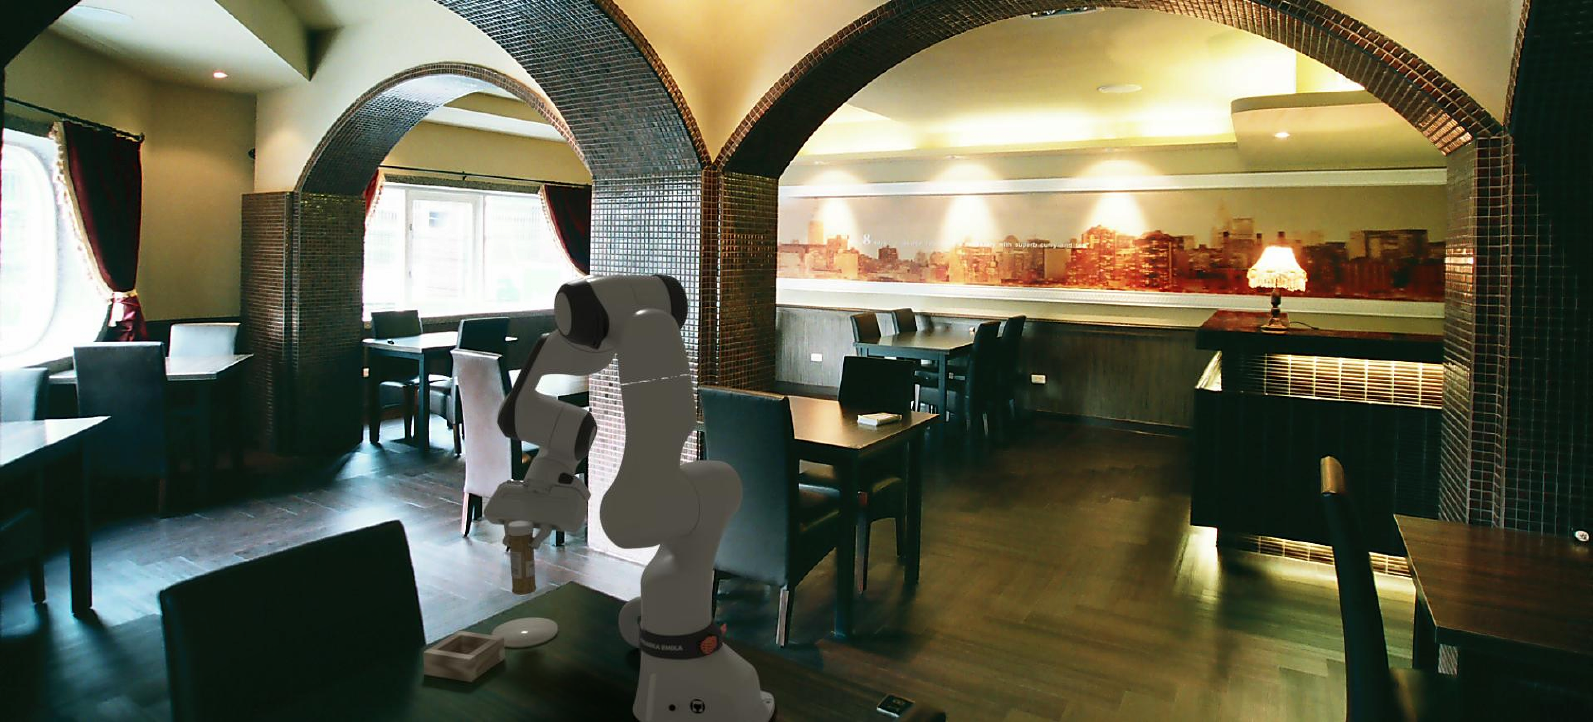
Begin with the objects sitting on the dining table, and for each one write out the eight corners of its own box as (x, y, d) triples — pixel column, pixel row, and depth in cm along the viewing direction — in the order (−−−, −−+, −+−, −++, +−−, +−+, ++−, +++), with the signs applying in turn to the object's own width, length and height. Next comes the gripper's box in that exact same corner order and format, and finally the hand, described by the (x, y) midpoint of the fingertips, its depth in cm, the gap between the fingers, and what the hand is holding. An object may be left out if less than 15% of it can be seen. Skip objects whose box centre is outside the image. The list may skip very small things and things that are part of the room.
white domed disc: (569, 625, 178) (569, 621, 178) (534, 651, 166) (534, 646, 166) (516, 618, 181) (516, 614, 181) (478, 642, 170) (478, 638, 170)
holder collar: (504, 658, 163) (503, 637, 163) (470, 682, 154) (469, 659, 154) (460, 651, 166) (459, 630, 166) (424, 674, 157) (423, 652, 157)
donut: (616, 651, 166) (614, 598, 165) (622, 643, 170) (621, 591, 169) (669, 654, 165) (668, 601, 164) (674, 646, 168) (673, 594, 167)
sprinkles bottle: (539, 592, 172) (536, 523, 171) (515, 597, 170) (511, 527, 168) (532, 585, 176) (529, 517, 175) (508, 590, 174) (505, 521, 172)
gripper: (494, 470, 180) (465, 533, 172) (586, 478, 174) (559, 543, 166) (509, 487, 185) (480, 548, 177) (598, 495, 179) (573, 559, 171)
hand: (519, 546), depth 171 cm, fingers closed on sprinkles bottle, 4 cm apart
